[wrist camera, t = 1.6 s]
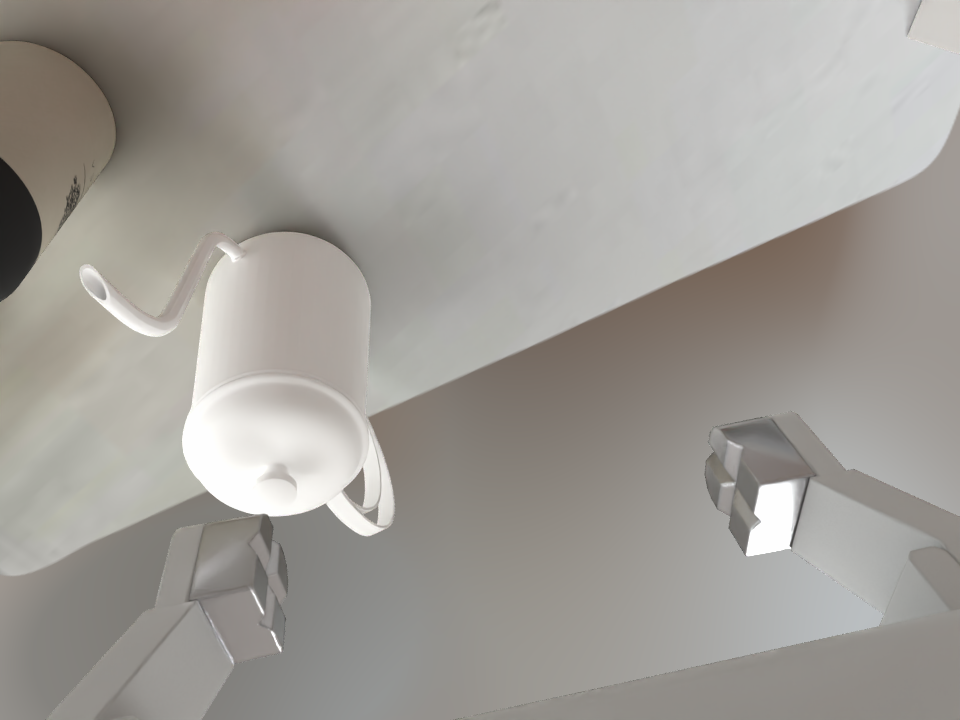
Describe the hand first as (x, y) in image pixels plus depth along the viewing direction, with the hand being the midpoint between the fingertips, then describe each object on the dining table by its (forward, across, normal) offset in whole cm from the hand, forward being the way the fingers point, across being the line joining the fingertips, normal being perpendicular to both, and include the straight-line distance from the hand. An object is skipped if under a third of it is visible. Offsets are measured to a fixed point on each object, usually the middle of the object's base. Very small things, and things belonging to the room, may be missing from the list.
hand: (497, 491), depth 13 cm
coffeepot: (+35, +9, +14) cm, 39 cm away
